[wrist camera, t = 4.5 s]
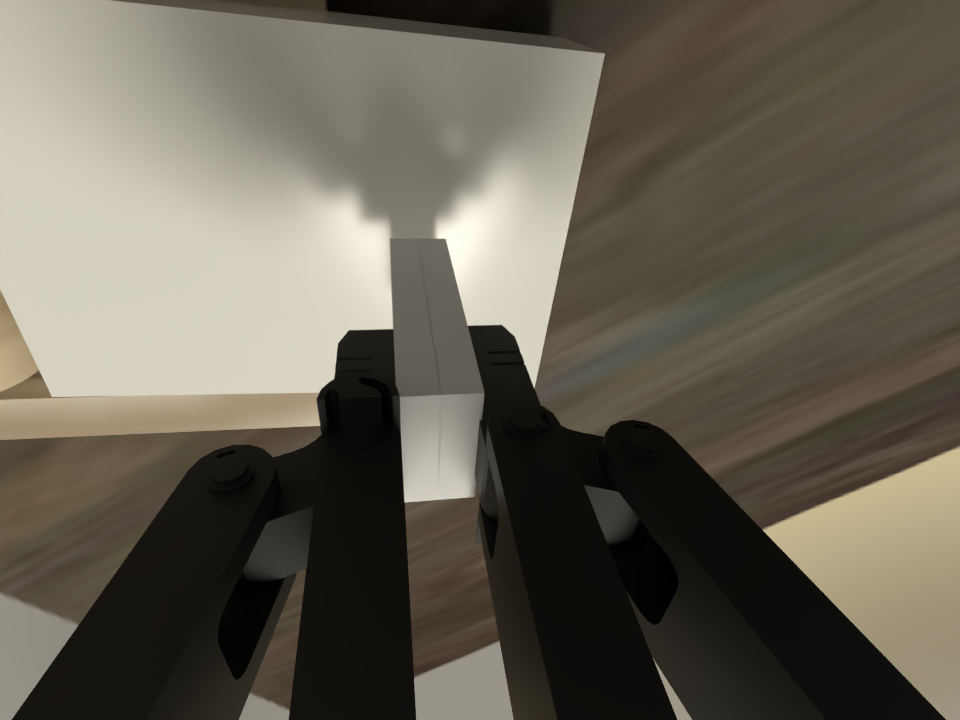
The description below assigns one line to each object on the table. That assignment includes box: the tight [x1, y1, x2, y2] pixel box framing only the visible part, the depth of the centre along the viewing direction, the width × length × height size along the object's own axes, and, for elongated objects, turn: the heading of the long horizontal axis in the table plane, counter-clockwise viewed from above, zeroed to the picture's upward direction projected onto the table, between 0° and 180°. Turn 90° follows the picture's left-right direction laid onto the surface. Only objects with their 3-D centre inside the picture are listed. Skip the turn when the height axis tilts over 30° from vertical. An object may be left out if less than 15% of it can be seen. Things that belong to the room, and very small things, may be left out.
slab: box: [0, 0, 605, 397], centre depth 17 cm, size 11×16×4 cm
